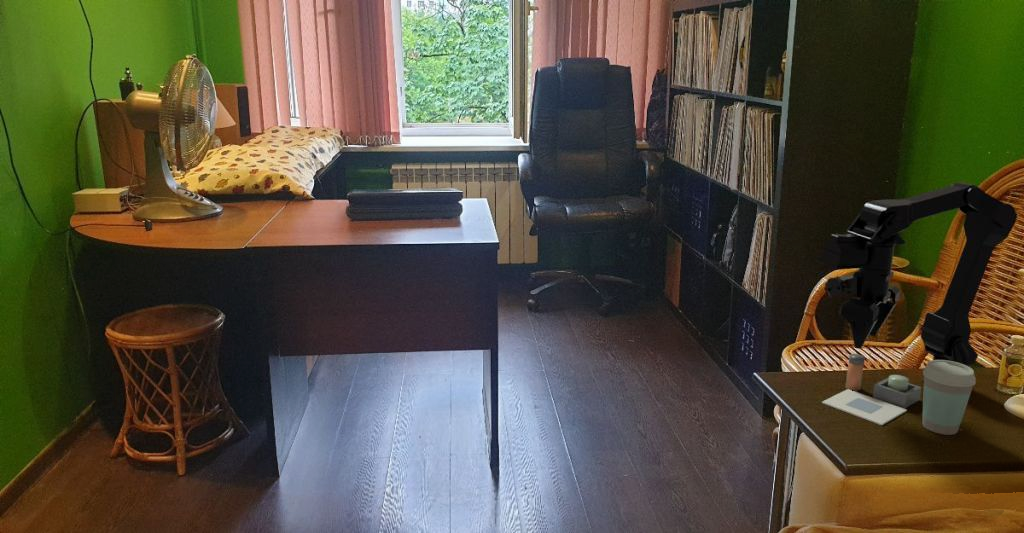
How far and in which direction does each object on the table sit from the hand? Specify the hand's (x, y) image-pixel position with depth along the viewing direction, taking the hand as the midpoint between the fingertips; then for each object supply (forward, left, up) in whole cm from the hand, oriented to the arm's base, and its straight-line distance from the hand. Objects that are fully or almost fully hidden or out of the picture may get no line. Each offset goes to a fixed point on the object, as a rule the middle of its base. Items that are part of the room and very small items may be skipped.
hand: (865, 341), depth 154 cm
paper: (+5, +4, -11) cm, 13 cm away
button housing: (-4, +6, -11) cm, 13 cm away
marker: (-2, -2, -11) cm, 12 cm away
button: (-4, +6, -9) cm, 12 cm away
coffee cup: (+2, +17, -11) cm, 21 cm away
